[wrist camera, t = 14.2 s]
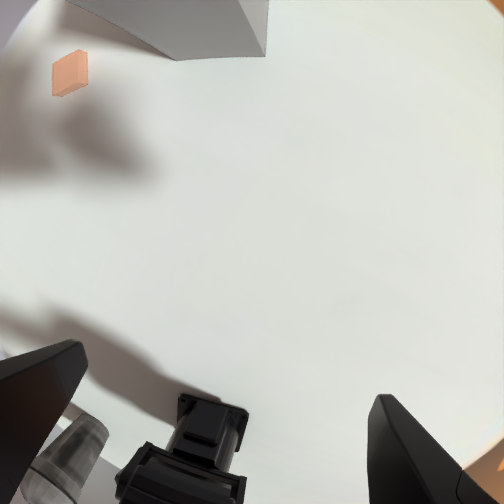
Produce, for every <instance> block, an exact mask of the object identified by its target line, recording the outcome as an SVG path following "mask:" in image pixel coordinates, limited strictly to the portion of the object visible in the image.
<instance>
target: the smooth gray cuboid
mask: <svg viewBox="0 0 504 504" xmlns="http://www.w3.org/2000/svg"><path fill="white" fill-rule="evenodd" d="M66 1H68V2H70V3H73V4H75V5H77V6H79V7H81V8H83V9H85V10H87V11H89V12H91V13H93V14H95V15H97V16H99V17H101V18H103V19H105V20H107V21H109V22H111V23H112V24H114V25H116V26H118V27H120V28H122V29H123V30H125V31H127V32H129V33H131V34H132V35H134V36H136V37H138V38H139V39H141V40H143V41H144V42H146V43H148V44H149V45H151V46H153V47H154V48H156V49H158V50H159V51H161V52H163V53H164V54H166V55H167V56H169V57H171V58H172V59H174V60H175V61H181V60H192V59H205V58H223V57H265V55H266V38H267V20H268V3H269V0H66Z"/></svg>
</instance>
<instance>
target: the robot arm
mask: <svg viewBox="0 0 504 504" xmlns="http://www.w3.org/2000/svg"><path fill="white" fill-rule="evenodd" d="M87 367H88V360H87V356H86V353H85V349H84V345H83V344H82V342H80V341H77V340H74V339H69V340H66V341H63V342H60V343H57V344H54V345H50V346H47V347H44V348H41V349H38V350H34V351H31V352H28V353H25V354H21V355H18V356H15V357H11V358H8V359H5V360H1V361H0V504H9V503H10V502H11V500H12V498H13V496H14V494H15V492H16V491H17V488H18V487H19V485H20V483H21V481H22V479H23V478H24V476H25V474H26V472H27V471H28V469H29V467H30V466H31V464H32V462H33V460H34V459H35V457H36V455H37V454H38V452H39V450H40V449H41V447H42V445H43V444H44V442H45V440H46V439H47V437H48V436H49V434H50V432H51V431H52V429H53V428H54V426H55V424H56V423H57V421H58V420H59V418H60V417H61V415H62V413H63V412H64V410H65V409H66V407H67V406H68V404H69V402H70V400H71V399H72V397H73V395H74V393H75V391H76V389H77V387H78V385H79V383H80V381H81V379H82V377H83V376H84V374H85V372H86V370H87ZM248 418H249V413H248V412H246V411H243V410H239V409H235V408H231V407H227V406H223V405H220V404H216V403H213V402H209V401H206V400H202V399H199V398H196V397H192V396H189V395H186V394H181V395H180V396H179V398H178V416H177V426H176V428H175V430H174V432H173V434H172V436H171V438H170V440H169V442H168V444H167V446H166V448H165V450H164V449H161V448H159V447H157V446H154V445H153V444H152V443H150V442H148V441H146V443H145V444H144V445H143V447H140V448H138V450H137V452H136V454H135V455H134V456H133V458H132V459H131V460H130V462H129V463H128V464H127V465H126V466H125V467H124V468H123V469H122V470H121V471H120V472H119V473H117V475H116V477H115V481H116V484H117V490H116V494H115V498H116V499H117V500H119V501H120V502H119V504H243V502H244V495H245V488H246V481H247V477H244V476H237V475H234V474H231V473H228V472H229V468H230V465H231V462H232V458H233V455H234V452H238V451H239V449H240V446H241V442H242V439H243V436H244V432H245V429H246V425H247V422H248ZM367 474H368V487H369V502H370V504H499V503H498V502H497V501H496V500H495V499H494V498H492V497H491V496H490V495H489V494H488V493H487V492H485V491H484V490H483V489H482V488H481V487H480V486H479V485H478V484H477V483H476V482H475V481H474V480H473V479H472V478H471V477H470V476H469V475H468V474H467V473H466V472H465V471H464V470H462V468H461V466H460V465H459V464H458V463H457V462H456V461H455V460H454V459H453V458H452V457H451V456H450V455H449V454H448V453H447V452H446V451H445V450H444V448H443V447H442V446H441V445H440V444H439V443H438V442H437V441H436V440H435V439H434V438H433V437H432V436H431V435H430V434H429V433H428V432H427V431H426V430H425V428H424V427H423V426H422V425H421V424H420V423H419V422H418V421H417V420H416V419H415V418H414V417H413V416H412V415H411V414H410V413H409V412H408V411H407V410H406V408H405V407H404V406H403V405H402V404H401V403H400V402H399V401H398V400H397V399H396V398H395V397H394V396H393V395H391V394H379V395H377V397H376V399H375V401H374V403H373V406H372V408H371V411H370V413H369V416H368V446H367Z"/></svg>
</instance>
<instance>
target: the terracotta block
mask: <svg viewBox="0 0 504 504" xmlns="http://www.w3.org/2000/svg"><path fill="white" fill-rule="evenodd" d="M86 85H88V69H87V52H84V51H81V50H76V51H75V52H73V53H71V54H69V55H67V56H65V57H64V58H62V59H60V60H58V61H57V62H55V63H53V69H52V96H59V97H63V96H65V95H67V94H69V93H71V92H73V91H75V90H77V89H79V88H82V87H84V86H86Z"/></svg>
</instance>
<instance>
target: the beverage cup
mask: <svg viewBox="0 0 504 504" xmlns="http://www.w3.org/2000/svg"><path fill="white" fill-rule="evenodd" d="M108 437H109V432H108V430H107V429H106V427H105V426H104V425H103V424H102V423H101V422H100V421H99V420H97V419H96V418H94V417H92V416H90V415H88V414H82V415H81V416H80V417H79V418H78V419H76V420H75V421H74V422H73V423H72V424H71V425H70V426H69V427H67V428H66V429H65V430H64V432H62V434H60V435H59V436H58V437H57V438H56V439H55V440H54V441H53V442H52V443H51V444H50V445H49V446H48V447H47V448H46V449H45V450H44V451H43V452H42V453H41V454H40V455H39V456H37V457H35V459H34V460H33V462H32V464H31V466H30V467H29V469H28V471H27V472H26V474H25V476H24V478H23V479H22V481H21V483H20V490H21V493H22V495H23V497H24V499H25V500H26V502H27V503H28V504H77V501H78V499H79V497H80V494H81V489H82V487H83V485H84V483H85V481H86V480H87V478H88V476H89V474H90V472H91V470H92V468H93V466H94V464H95V462H96V461H97V459H98V457H99V455H100V453H101V451H102V449H103V447H104V445H105V443H106V440H107V438H108Z"/></svg>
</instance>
